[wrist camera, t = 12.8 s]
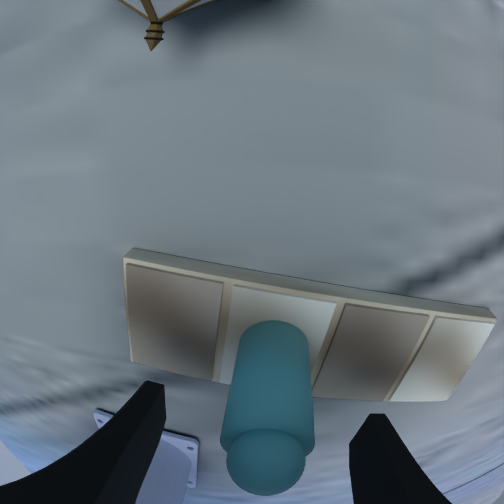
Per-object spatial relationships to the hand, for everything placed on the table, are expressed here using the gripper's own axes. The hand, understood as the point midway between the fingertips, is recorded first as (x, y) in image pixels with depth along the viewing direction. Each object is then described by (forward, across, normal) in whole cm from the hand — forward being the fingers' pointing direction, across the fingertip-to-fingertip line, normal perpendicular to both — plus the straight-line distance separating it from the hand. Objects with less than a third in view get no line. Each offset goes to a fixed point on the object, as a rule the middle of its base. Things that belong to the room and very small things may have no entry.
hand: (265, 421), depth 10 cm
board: (+5, -2, 0) cm, 6 cm away
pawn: (+4, 0, 0) cm, 4 cm away
